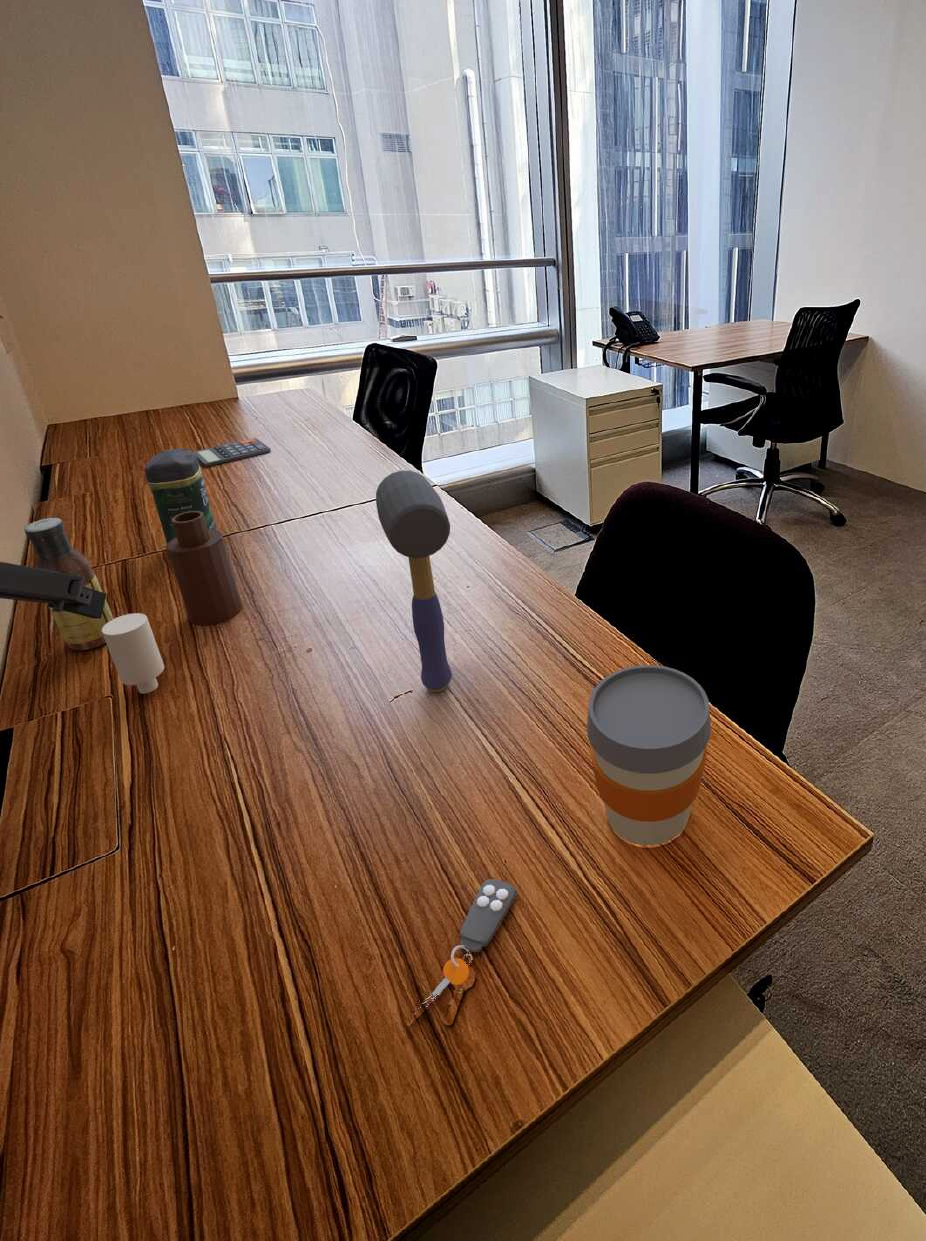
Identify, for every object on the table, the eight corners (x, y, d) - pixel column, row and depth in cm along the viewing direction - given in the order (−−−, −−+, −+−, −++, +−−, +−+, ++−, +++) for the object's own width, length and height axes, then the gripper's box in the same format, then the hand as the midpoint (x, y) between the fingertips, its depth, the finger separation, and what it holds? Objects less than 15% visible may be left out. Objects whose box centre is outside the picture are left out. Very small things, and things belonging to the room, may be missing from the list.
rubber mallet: (476, 706, 88) (451, 497, 76) (418, 724, 85) (381, 510, 73) (455, 652, 98) (429, 461, 86) (402, 667, 95) (367, 471, 83)
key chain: (484, 883, 66) (483, 873, 65) (519, 894, 65) (518, 883, 64) (405, 1028, 54) (403, 1017, 54) (446, 1043, 53) (444, 1032, 53)
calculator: (270, 448, 173) (204, 463, 163) (271, 451, 173) (205, 466, 164) (255, 437, 181) (191, 451, 171) (256, 440, 181) (192, 454, 171)
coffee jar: (216, 553, 125) (189, 460, 118) (166, 561, 122) (135, 466, 115) (223, 531, 133) (198, 442, 126) (176, 538, 130) (148, 448, 123)
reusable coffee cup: (724, 846, 69) (732, 735, 63) (605, 878, 66) (602, 764, 60) (682, 756, 80) (686, 654, 74) (579, 780, 77) (574, 675, 71)
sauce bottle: (89, 627, 104) (43, 511, 96) (129, 628, 104) (86, 512, 96) (54, 654, 98) (1, 532, 90) (96, 655, 98) (47, 533, 90)
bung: (118, 701, 89) (92, 635, 85) (140, 677, 93) (117, 613, 89) (156, 699, 89) (132, 634, 85) (176, 675, 94) (154, 612, 89)
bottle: (180, 626, 104) (147, 528, 97) (204, 600, 111) (175, 507, 104) (228, 624, 105) (199, 527, 98) (250, 599, 111) (224, 505, 104)
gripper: (-371, 608, 51) (-99, 648, 71) (-26, 596, 53) (146, 638, 73) (-325, 515, 54) (-75, 578, 74) (2, 506, 56) (161, 570, 75)
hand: (35, 608), depth 73 cm, fingers open, 13 cm apart
